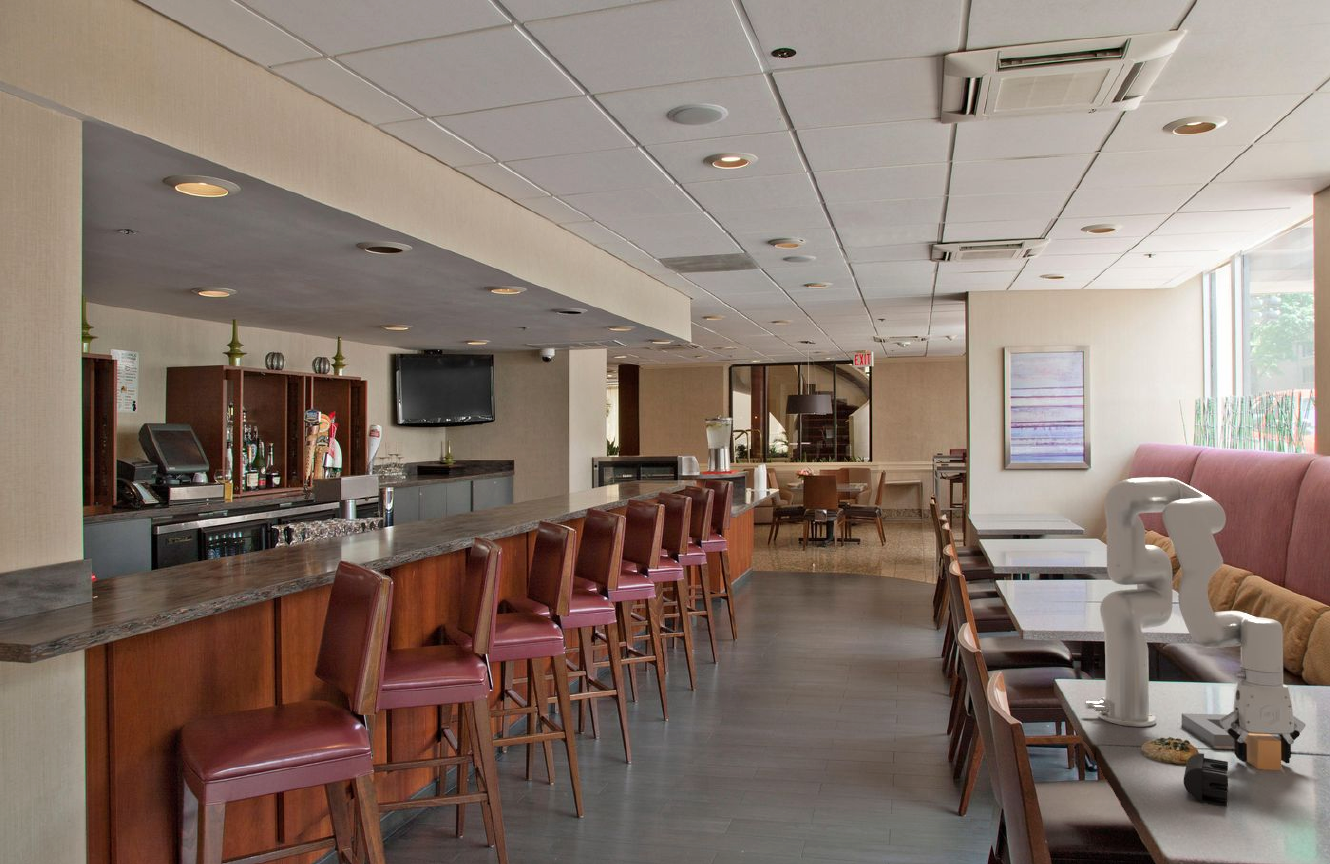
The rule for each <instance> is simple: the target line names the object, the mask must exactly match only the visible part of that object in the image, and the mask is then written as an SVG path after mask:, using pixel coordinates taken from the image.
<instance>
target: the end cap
mask: <svg viewBox="0 0 1330 864" xmlns="http://www.w3.org/2000/svg"><path fill="white" fill-rule="evenodd" d="M1228 771H1229V762H1228V761H1226V760H1220V759H1213V758H1206V757H1205V753H1201V752H1199V754H1194V755H1193V756H1191V757H1190V758H1189V759H1188V761H1187V764H1186V765H1185V770H1184V774H1183V786H1184V789H1185V790H1186V791H1187V793H1188V794H1189V795H1190V796H1191V797H1193V799H1195V800H1196V801H1197V802H1198V803H1201V804H1205V803H1206V805H1210V804H1211V805H1212V806H1215V807H1216V806H1217V807H1221V808H1228V802H1229V801H1228V799H1229V798H1228V797H1229V776H1228Z"/></svg>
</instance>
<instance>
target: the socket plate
mask: <svg viewBox="0 0 1330 864" xmlns="http://www.w3.org/2000/svg"><path fill="white" fill-rule="evenodd" d="M1227 715H1228V714H1225V713H1224V714H1221V713H1220V714H1217V713H1216V714H1215V713H1212V714H1211V713H1181V727H1182V728H1185V729H1186V730H1187V731H1188V732H1190V733H1191V734H1193V735H1195V736H1196V737H1197V738H1199V739H1201V740H1202V741H1203V742H1205V743H1206V744H1208V746H1210V747H1212V748H1214V749H1231V750H1233V749H1234V739H1233V738H1232V737H1231V736H1230V735H1229V734H1228V733H1227V732H1226V731H1225V729H1224V728H1223V726H1222V725H1221V724H1220V722H1219V721H1220V719H1222V718H1224V717H1225V716H1227ZM1231 727H1232V728H1233V729H1234V730H1235V729H1236V727H1237V726H1236V725H1235V724H1234V722H1232V723H1231ZM1270 735H1271V736H1273V737H1275V738H1276V739H1278V740H1281V738H1280V737H1279V735H1278V734H1270Z"/></svg>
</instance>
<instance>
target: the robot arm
mask: <svg viewBox="0 0 1330 864" xmlns="http://www.w3.org/2000/svg"><path fill="white" fill-rule="evenodd" d="M1104 498H1105V499H1104V503H1103V505H1104V516H1105V521H1106V571H1107V575H1108V577H1109V579H1110V580H1111V581H1112V582H1113V583H1115V584H1118V585H1121V586H1134V585H1136V589H1135V588H1134V589H1120V590H1116V591H1115V590H1114V591H1113V592H1110V593H1108V594H1107V595H1106V596H1105V597H1104V598H1103V599H1102V600H1101V603H1100V606H1099V607H1100V608H1099V611H1100V612H1099V613H1100V617H1101V623H1102V627H1103V633H1104V635H1103V636H1104V654H1105V656H1104V657H1105V660H1104V661H1105V664H1104V665H1105V666H1104V667H1105V670H1104V671H1105V674H1104V675H1105V696H1102V697H1101V699H1100V700H1098V701H1094V700H1093V701H1092V700H1091V701H1090V700H1088V701H1084V708H1085V710H1093V711H1094V712H1098V716H1099V718H1100V719H1102V720H1103V721H1106V722H1108V723H1112V724H1116V725H1121V726H1126V727H1127V726H1128V727H1136V728H1137V727H1149V726H1150V727H1151V726H1154V725H1155V724H1157V718H1156V716H1155V715H1153V713H1150V701H1149V699H1150V694H1149V689H1150V685H1149V681H1150V680H1149V676H1150V675H1149V648H1148V647H1149V646H1148V643H1147V640H1146V638H1145V636H1144V634H1143V632H1142V629H1147V628H1156V627H1161V626H1163V625H1165V624H1166V623H1168V621H1169V620H1170V619H1171V617H1172V612H1173V566H1172V562H1171V559H1170V557H1169V555H1168V554H1167V553H1166V551H1165V550H1164V549H1162V548H1161V547H1159V546H1157V545H1152V544H1146V530H1145V528H1146V527H1145V525H1144V522H1143V520H1142V519H1141V517H1140V516H1139V515H1140V514H1145V513H1147V514H1149V513H1154V514H1155V513H1161V514H1162V515H1161V516H1162V521H1163V524H1164V527H1165V530H1166V532H1167V534H1168V535H1167V536H1168V537H1169V539H1170V542H1171V545H1172V547H1173V550H1174V554H1175V555H1176V558H1177V560H1178V562H1179V566H1180V568H1181V577H1180V581H1179V584H1178V585H1179V586H1178V600H1177V601H1178V607H1179V611H1180V613H1181V616H1182V619H1183V621H1184V624H1185V626H1186V629H1187V631H1188V633H1189V634H1190V636H1191V638H1192V639H1193V641H1194V642H1195V643H1197V644H1198V645H1199V646H1201V647H1203V648H1206V649H1220V648H1226V647H1227V648H1228V647H1239V646H1240V667H1239V670H1235V671H1234V672H1233V673H1234V674H1233V675H1234V677H1235V678H1237V679H1238V678H1239V681H1237V684H1236V689H1235V693H1234V700H1233V711H1230V713H1229V714H1226V715H1227V716H1225V717H1224V718H1222V719H1220V721H1219V722H1220V724H1221V725H1222V726H1223V728H1224V729H1225V731H1226V732H1227V733H1228V734H1229V735H1230V736H1231V737H1232V738H1233V739H1234V750H1233V751H1234V755H1235V757H1236V759H1238V760H1239V761H1241V762H1242V763H1244V762H1245V763H1247V744H1246V743H1245V742H1244V740H1245V739H1246V737H1247V736H1248V734H1249V733H1253V734H1278V735H1279V737H1280V738H1281V740H1280V741H1281V762H1284V763H1285V764H1290V762H1291V760H1290V759H1291V758H1292V745H1293V744H1295V743H1294V742H1295V741H1296V739H1297V738H1298V737H1300V734H1301V733H1302V732H1303V730H1304V729H1305V728H1306V726H1307V725H1306V723H1305V722H1304V721H1302V720H1300V719H1299V718H1298V717H1297V716H1294V712H1293V707H1292V706H1293V705H1292V699H1291V693H1290V690H1289V686H1288V685H1286V684H1284V659H1283V658H1284V653H1283V652H1284V644H1283V643H1284V642H1283V641H1284V639H1283V638H1284V636H1283V632H1284V630H1283V625H1282V624H1281V622H1280V621H1278V620H1275V619H1273V618H1268V617H1259V616H1254V615H1251V614H1248V613H1246V612H1242V611H1240V610H1225V611H1224V610H1223V611H1215V612H1214V610H1213V608H1212V604H1211V602H1210V599H1209V594H1208V590H1209V588H1208V587H1209V584H1210V581H1211V579H1212V577H1213V576H1214V575H1215V574H1216V572H1217V571H1219V570H1220V569H1221V568H1222V567H1223V564H1224V559H1223V556H1222V554H1221V552H1220V550H1219V547H1218V545H1217V541H1216V540H1215V539H1216V538H1215V537H1214V534H1217V533H1219V532H1221V531H1222V530H1223V528H1224V527H1225V525H1226V522H1227V521H1226V520H1227V517H1226V512H1225V510H1224V508H1223V507H1222V506H1221V505H1222V504H1221V505H1220V504H1219V502H1218V501H1216V500H1215V499H1213V498H1212V497H1210V495H1209V496H1208V495H1206V494H1205V493H1203V492H1201V491H1199V490H1198V489H1196V488H1194V487H1193V486H1190V485H1188V484H1186V483H1185V482H1183V481H1181V480H1179V479H1176V478H1172V477H1134V478H1127V479H1123V480H1120V481H1118V482H1116V483H1114V484H1113V485H1112V486H1111V487H1110V488H1109V489H1108V491H1107V492H1106V495H1105V497H1104ZM1232 722H1234V724H1235V725H1236V726H1237V727H1236V729H1235V730H1234V729H1233V728H1232V727H1231V723H1232Z"/></svg>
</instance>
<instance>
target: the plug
mask: <svg viewBox="0 0 1330 864" xmlns="http://www.w3.org/2000/svg"><path fill="white" fill-rule="evenodd" d="M1244 742H1245V743H1246V744H1247V761H1246V763H1248V764H1251V766H1253V768H1254V767H1255V768H1256V769H1258V770H1277V771H1278V770H1280V771H1281V770H1282V760H1281V741H1280V740H1278V739H1276V738H1275V737H1273V736H1271V735H1270V734H1253V733H1249V734H1248V736H1247V737H1246V739H1245V740H1244Z"/></svg>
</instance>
